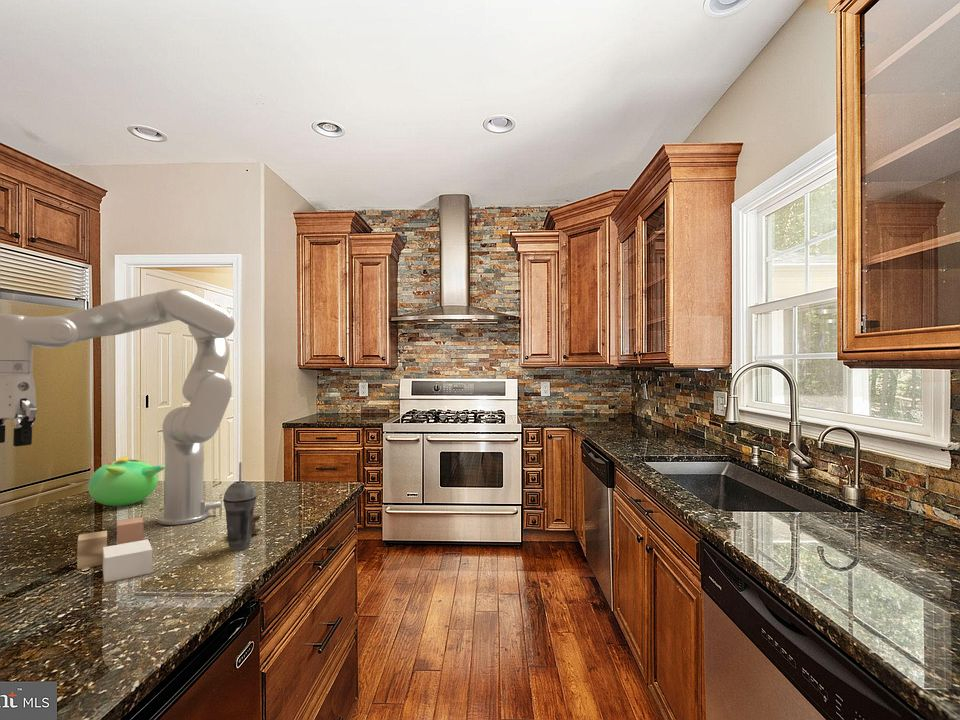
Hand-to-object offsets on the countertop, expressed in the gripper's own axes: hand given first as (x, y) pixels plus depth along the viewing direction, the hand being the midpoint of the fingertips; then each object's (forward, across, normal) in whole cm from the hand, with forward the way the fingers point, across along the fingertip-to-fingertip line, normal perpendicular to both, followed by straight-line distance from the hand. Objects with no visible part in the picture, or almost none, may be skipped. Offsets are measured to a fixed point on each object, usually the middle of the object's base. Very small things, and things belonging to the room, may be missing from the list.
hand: (8, 444), depth 114 cm
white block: (+25, -34, -4) cm, 42 cm away
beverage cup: (+25, -44, -23) cm, 56 cm away
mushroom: (+26, -38, -30) cm, 55 cm away
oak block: (+25, -22, -4) cm, 34 cm away
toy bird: (+25, +19, -40) cm, 51 cm away
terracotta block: (+25, -19, -14) cm, 35 cm away
